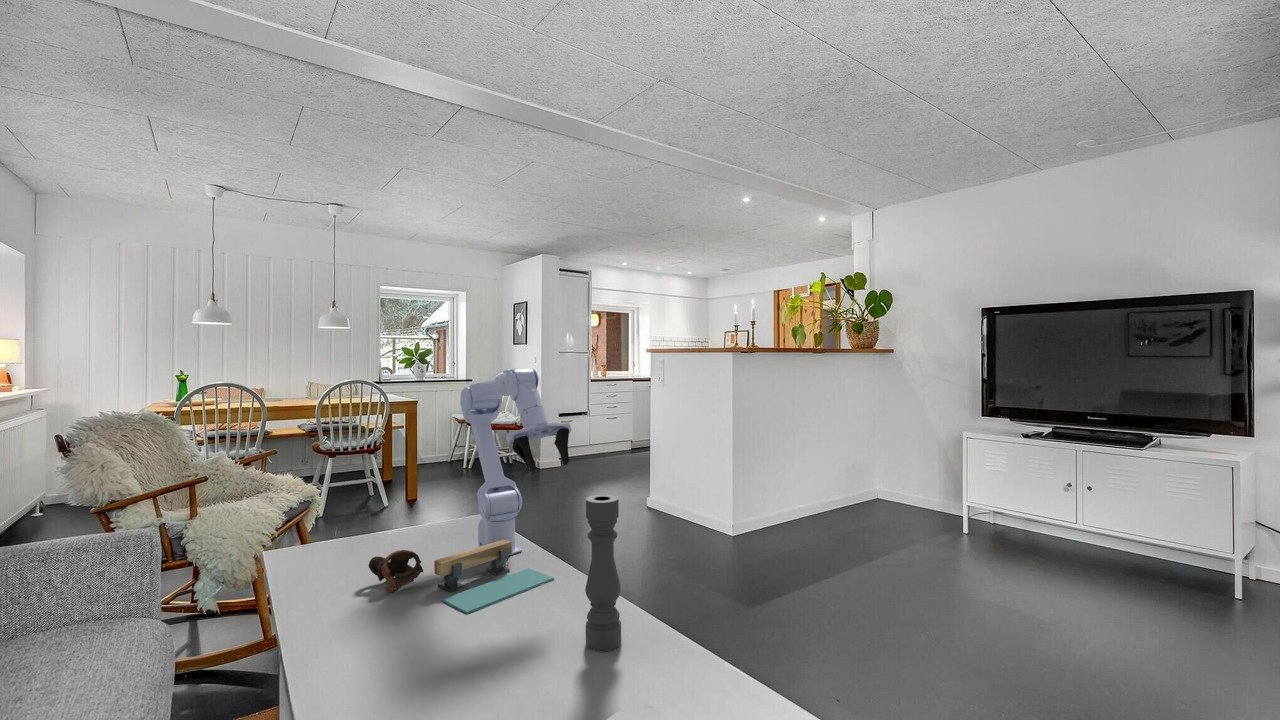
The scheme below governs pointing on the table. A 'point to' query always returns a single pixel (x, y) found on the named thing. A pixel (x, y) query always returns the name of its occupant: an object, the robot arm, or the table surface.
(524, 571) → the teal mat
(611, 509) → the candle holder
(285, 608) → the table surface
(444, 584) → the hook standards
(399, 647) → the table surface
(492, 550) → the oak bar
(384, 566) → the pottery mug
